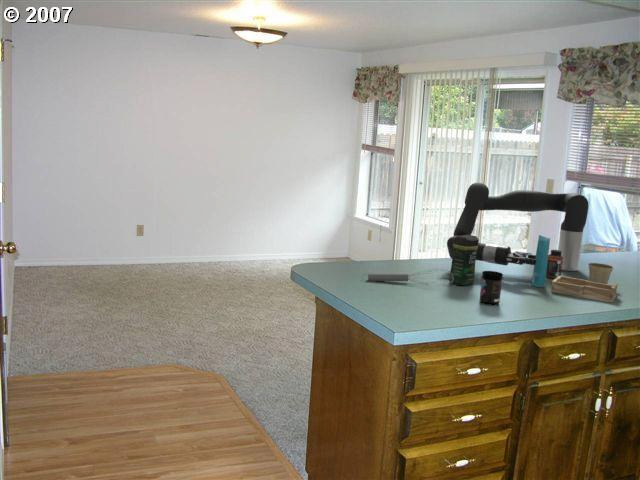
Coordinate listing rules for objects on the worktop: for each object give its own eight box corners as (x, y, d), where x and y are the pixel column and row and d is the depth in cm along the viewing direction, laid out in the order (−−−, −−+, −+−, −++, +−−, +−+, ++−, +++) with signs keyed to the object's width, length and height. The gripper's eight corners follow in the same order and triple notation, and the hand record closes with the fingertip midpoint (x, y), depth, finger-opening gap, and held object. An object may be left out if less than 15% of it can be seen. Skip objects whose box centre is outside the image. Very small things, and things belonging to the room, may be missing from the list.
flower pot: (609, 286, 262) (613, 264, 260) (611, 291, 253) (615, 269, 252) (584, 282, 265) (587, 261, 263) (585, 287, 256) (588, 266, 255)
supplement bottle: (561, 279, 268) (565, 252, 266) (546, 278, 269) (549, 250, 267) (559, 276, 274) (562, 249, 272) (544, 275, 275) (547, 248, 273)
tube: (549, 288, 251) (556, 238, 248) (538, 288, 250) (545, 238, 247) (536, 283, 258) (543, 235, 255) (526, 283, 257) (532, 234, 253)
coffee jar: (463, 287, 244) (468, 237, 241) (445, 282, 249) (450, 234, 246) (477, 284, 251) (482, 235, 247) (459, 279, 256) (464, 232, 253)
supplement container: (487, 299, 228) (490, 270, 226) (503, 304, 223) (507, 274, 221) (474, 301, 224) (478, 271, 222) (491, 306, 219) (495, 276, 217)
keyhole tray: (557, 285, 257) (559, 273, 256) (616, 295, 246) (618, 282, 245) (550, 291, 246) (552, 278, 245) (611, 302, 235) (613, 289, 234)
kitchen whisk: (361, 278, 248) (362, 262, 247) (451, 285, 248) (453, 268, 247) (362, 282, 242) (363, 265, 241) (454, 289, 242) (456, 272, 241)
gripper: (500, 261, 267) (541, 267, 259) (490, 266, 255) (532, 273, 247) (502, 242, 266) (544, 248, 258) (492, 247, 254) (535, 253, 246)
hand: (538, 260), depth 252 cm, fingers open, 8 cm apart
